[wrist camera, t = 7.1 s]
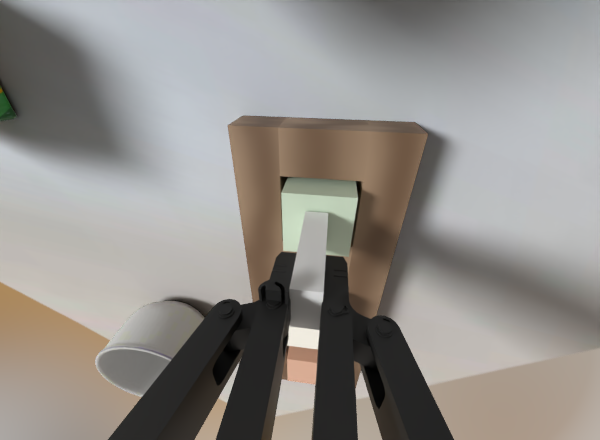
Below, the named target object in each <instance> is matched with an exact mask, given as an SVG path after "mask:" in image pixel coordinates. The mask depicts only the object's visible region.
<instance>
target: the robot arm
mask: <svg viewBox="0 0 600 440" xmlns="http://www.w3.org/2000/svg"><path fill="white" fill-rule="evenodd" d="M327 228H328V213H323V212H310V211H305V216H304V221H303V225H302V230H301V235H300V240H299V245H298V250H297V253H290V252H281V253H280V254H279V255H278V256H277V257H276V259H275V263H274V266H273V269H272V272H271V276H270V279H269V280H267V281H265V282H263V283H262V284H261V285H260V286H259V288H258V293H259V300H257V301H255V302H253V303H248V304H243V305H240V303H239V302H237V301H236V300H232V299H227V300H223V301H221V302H219V303H217V304H216V305H215V306H214V307H213V308H212V310H211V311H210V312H209V313H208V315H207V316H206V317H205V318H204V320H203V321H202V322H201V323H200V325H199V326H198V327H197V328H196V330H195V331H194V332H193V333H192V335H191V336H190V337H189V339H188V340H187V341H186V342H185V344H184V345H183V346H182V347H181V349H180V350H179V351H178V352H177V354H176V355H175V356H174V357H173V359H172V360H171V361H170V362H169V364H168V365H167V366H166V367H165V369H164V370H163V371H162V372H161V374H160V375H159V376H158V377H157V379H156V380H155V381H154V382H153V384H152V385H151V386H150V387H149V389H148V390H147V391H146V393H145V394H144V395H143V396H142V398H141V399H140V400H139V401H138V403H137V404H136V405H135V406H134V408H133V409H132V410H131V411H130V413H129V414H128V415H127V416H126V418H125V419H124V420H123V421H122V423H121V424H120V425H119V427H118V428H117V429H116V430H115V431H114V433H113V434H112V435H111V437H110V438H109V439H108V440H194V439H195V438H196V436H197V434H198V432H199V430H200V429H201V427H202V425H203V424H204V422H205V420H206V418H207V416H208V415H209V413H210V411H211V410H212V408H213V406H214V404H215V403H216V401H217V399H218V397H219V396H220V394H221V392H222V390H223V389H224V387H225V385H226V383H227V382H228V380H229V378H230V376H231V375H232V373H233V371H234V369H235V368H236V366H237V364H238V362H239V361H240V359H241V361H240V364H239V368H238V371H237V374H236V377H235V380H234V384H233V387H232V390H231V393H230V396H229V399H228V403H227V406H226V409H225V412H224V415H223V419H222V422H221V425H220V428H219V432H218V434H217V438H216V440H271V438H272V432H273V426H274V420H275V415H276V409H277V403H278V397H279V391H280V385H281V380H282V374H283V368H284V362H285V356H286V350H287V344H288V339H289V326H290V327H298V328H307V329H315V330H319V342H318V356H317V371H316V385H315V399H314V414H313V428H312V440H358V434H357V413H356V393H355V373H354V361H355V362H357V363H359V364H360V367H361V370H362V373H363V377H364V380H365V383H366V387H367V390H368V393H369V396H370V400H371V403H372V406H373V410H374V413H375V416H376V420H377V423H378V426H379V430H380V433H381V436H382V439H383V440H454V439H453V437H452V435H451V433H450V430H449V428H448V426H447V424H446V422H445V420H444V418H443V416H442V414H441V412H440V410H439V408H438V406H437V404H436V402H435V400H434V398H433V396H432V394H431V391H430V389H429V387H428V385H427V383H426V381H425V379H424V377H423V375H422V373H421V371H420V369H419V367H418V365H417V363H416V361H415V359H414V357H413V354H412V352H411V350H410V348H409V346H408V344H407V342H406V340H405V338H404V336H403V334H402V332H401V330H400V328H399V326H398V325H397V324H396V322H395V321H393V320H392V319H391V318H388V317H386V316H379V315H378V316H375V317H373V318H372V319H370V318H368V317H365V316H363V315H361V314H359V313H357V312H356V311H355V310H354V309H353V308H352V307H351V305H350V302H349V287H348V265H347V262H346V260H345V259H344V257H340V256H329V255H326V244H327ZM241 357H242V358H241Z"/></svg>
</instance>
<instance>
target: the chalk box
mask: <svg viewBox="0 0 600 440" xmlns="http://www.w3.org/2000/svg"><path fill="white" fill-rule="evenodd" d="M14 118H17V115H16V114H15V112H14V111H13V109H12V107H11V105H10V103H9V101H8V99H7V97H6V96H5V94H4V92H3V90H2V88H1V86H0V121H3V120H9V119H14Z"/></svg>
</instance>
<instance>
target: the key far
mask: <svg viewBox="0 0 600 440" xmlns="http://www.w3.org/2000/svg"><path fill="white" fill-rule="evenodd" d="M317 356H318V350H317V349H310V348H302V347H294V346H289V350H288V356H287V374H288V381H295V382H302V383H309V384H316V371H317Z"/></svg>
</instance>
